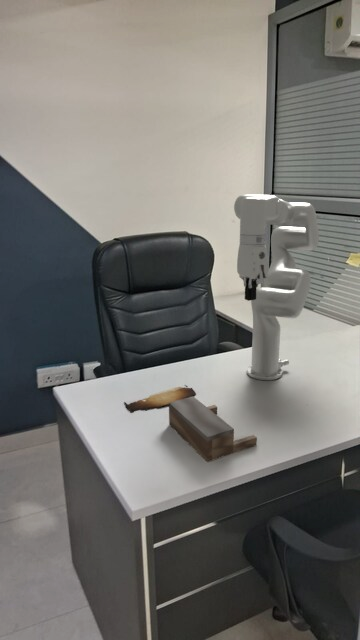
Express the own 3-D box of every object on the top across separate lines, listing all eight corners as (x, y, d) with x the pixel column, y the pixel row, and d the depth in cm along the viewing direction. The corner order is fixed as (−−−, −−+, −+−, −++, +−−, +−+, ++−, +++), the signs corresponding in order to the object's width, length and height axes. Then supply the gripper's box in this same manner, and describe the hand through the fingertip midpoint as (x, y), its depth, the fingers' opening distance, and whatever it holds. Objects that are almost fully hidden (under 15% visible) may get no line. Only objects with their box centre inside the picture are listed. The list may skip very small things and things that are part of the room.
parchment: (186, 385, 165) (186, 382, 165) (202, 395, 157) (202, 393, 157) (121, 404, 153) (120, 402, 153) (135, 417, 145) (135, 414, 145)
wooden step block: (214, 412, 146) (214, 390, 144) (256, 445, 129) (257, 421, 127) (169, 424, 139) (168, 402, 137) (207, 462, 122) (207, 437, 120)
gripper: (278, 242, 138) (275, 303, 144) (247, 236, 151) (245, 292, 156) (257, 244, 135) (255, 307, 140) (227, 237, 147) (226, 295, 153)
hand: (250, 299), depth 148 cm, fingers closed
